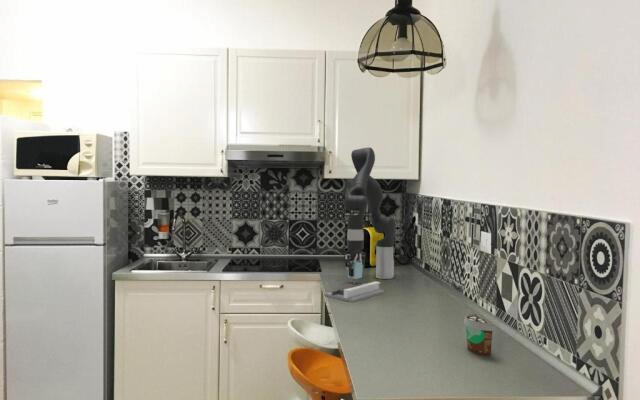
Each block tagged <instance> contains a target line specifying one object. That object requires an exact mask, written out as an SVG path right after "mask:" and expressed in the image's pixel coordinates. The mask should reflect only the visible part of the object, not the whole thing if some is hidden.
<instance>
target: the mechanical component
mask: <svg viewBox="0 0 640 400" xmlns="http://www.w3.org/2000/svg"><path fill="white" fill-rule="evenodd" d="M343 265H344V268H345V271H346V272H348V267H345V264H343ZM364 269H365V264H364V265H362V272H363V271H364ZM356 283H357V279H353V278H352V284H353V285H356Z"/></svg>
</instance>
